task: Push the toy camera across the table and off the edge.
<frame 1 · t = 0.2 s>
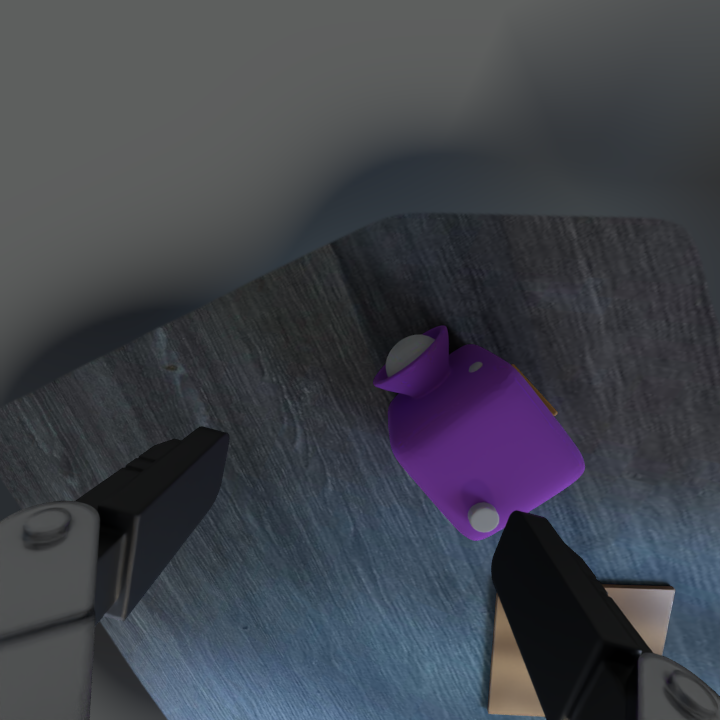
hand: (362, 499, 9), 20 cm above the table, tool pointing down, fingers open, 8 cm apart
toy camera: (444, 396, 30), on the table
square metal plate: (574, 651, 34), on the table
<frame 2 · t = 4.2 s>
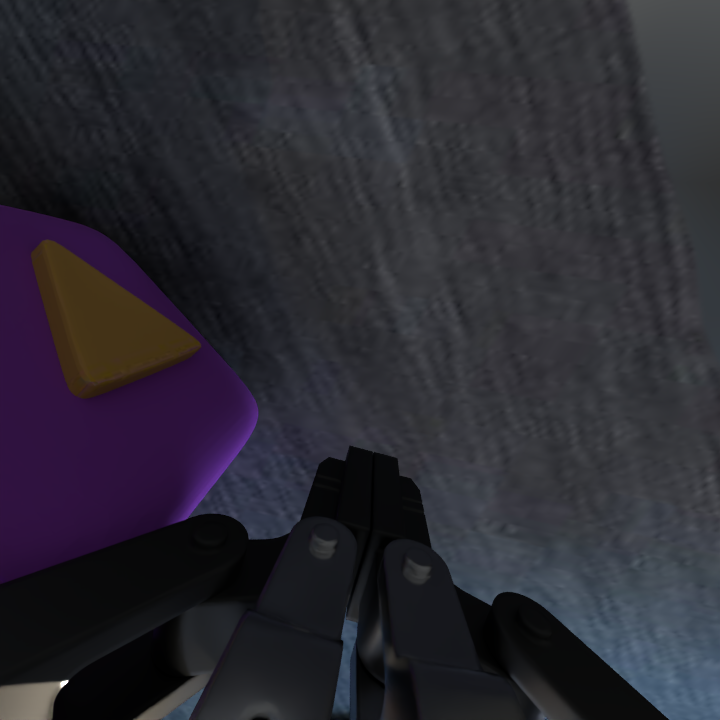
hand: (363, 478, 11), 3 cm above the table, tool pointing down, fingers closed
toy camera: (91, 359, 14), on the table, touching hand
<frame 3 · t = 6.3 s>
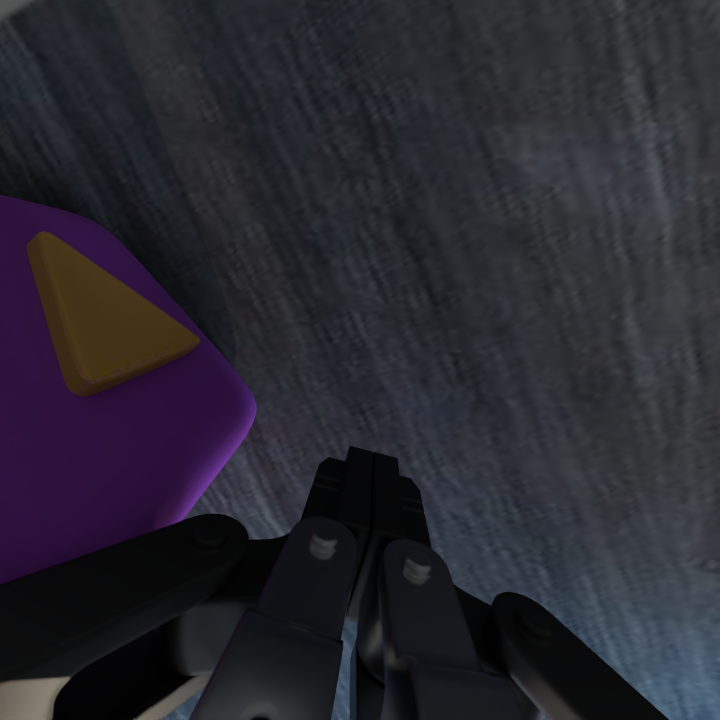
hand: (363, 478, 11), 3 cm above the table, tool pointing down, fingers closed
toy camera: (87, 351, 14), on the table, touching hand
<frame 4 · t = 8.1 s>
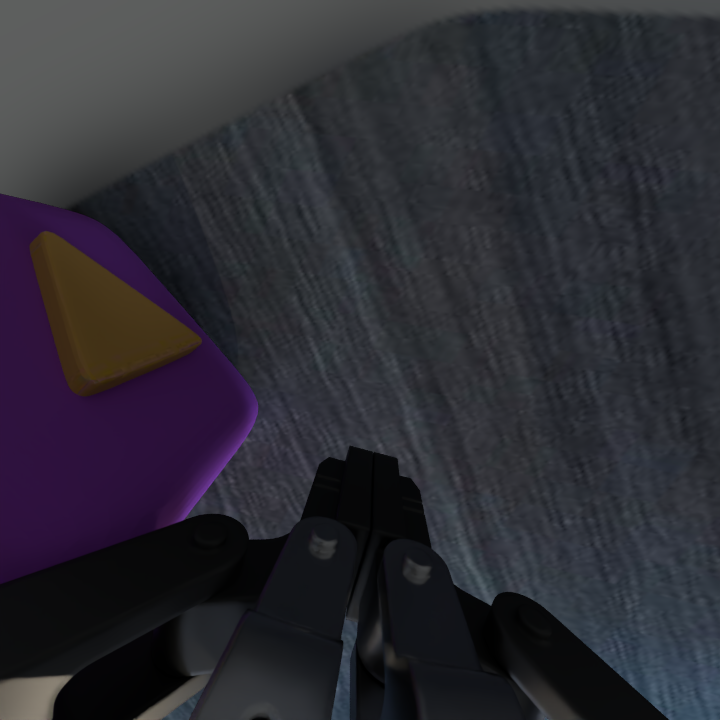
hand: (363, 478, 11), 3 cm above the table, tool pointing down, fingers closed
toy camera: (90, 350, 14), on the table, touching hand
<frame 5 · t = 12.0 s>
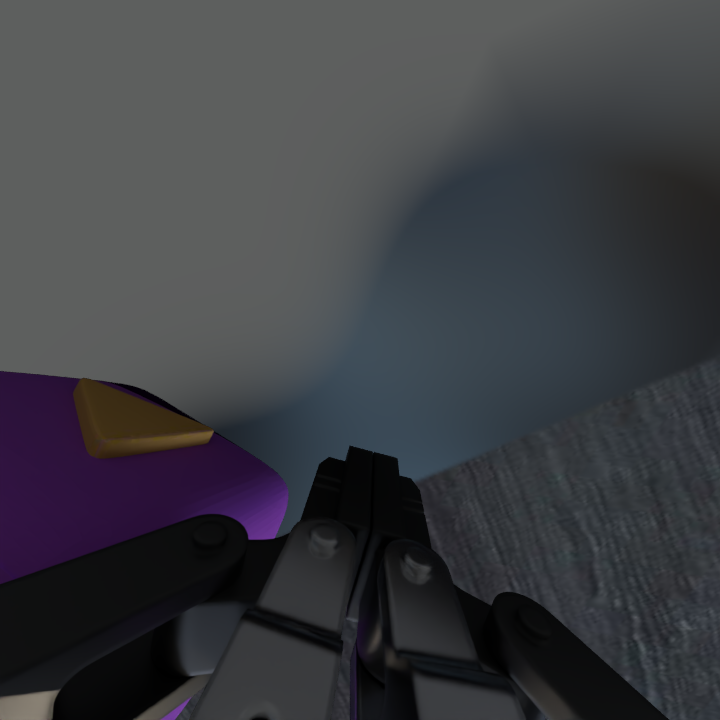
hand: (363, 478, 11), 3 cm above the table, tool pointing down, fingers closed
toy camera: (145, 504, 15), on the table, touching hand
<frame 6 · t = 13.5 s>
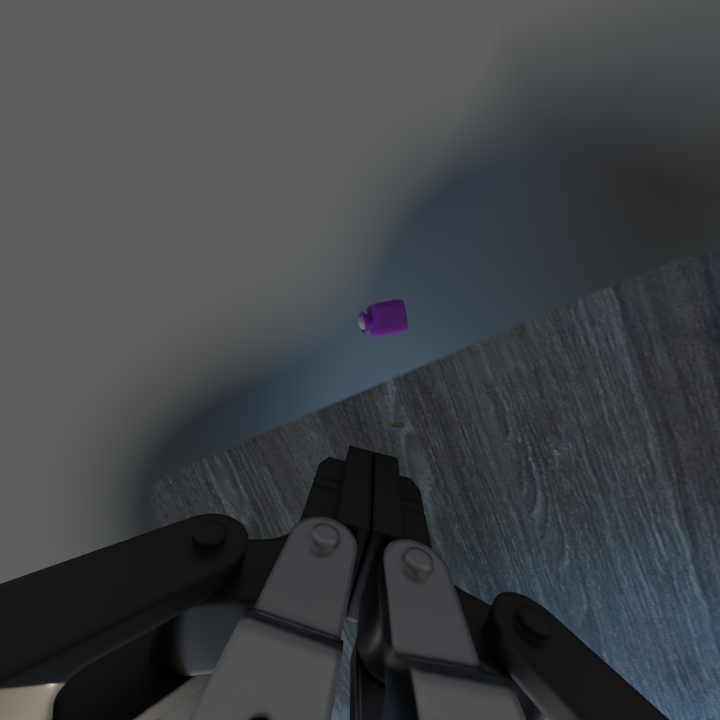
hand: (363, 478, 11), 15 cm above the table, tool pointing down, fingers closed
toy camera: (384, 336, 99), on the floor
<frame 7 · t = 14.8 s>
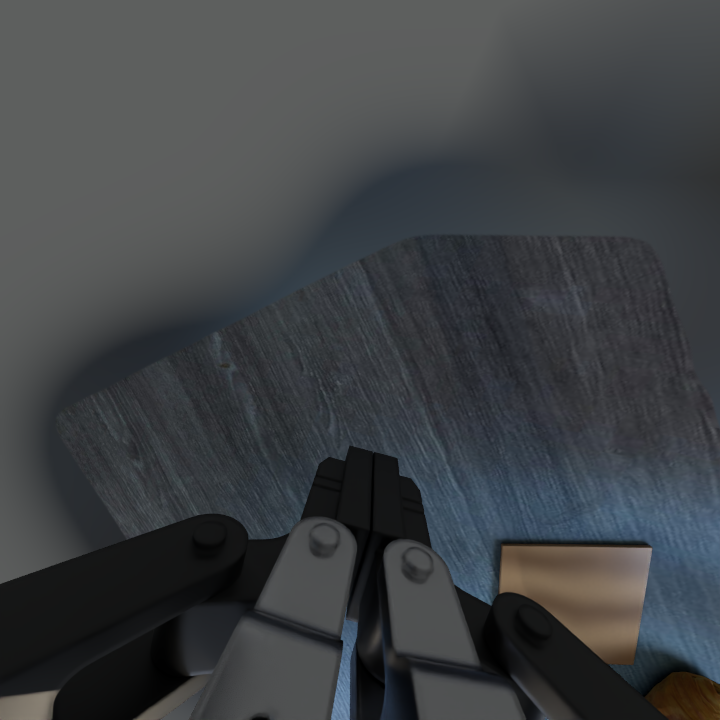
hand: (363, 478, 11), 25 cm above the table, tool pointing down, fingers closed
square metal plate: (568, 604, 40), on the table
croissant: (674, 715, 43), on the table
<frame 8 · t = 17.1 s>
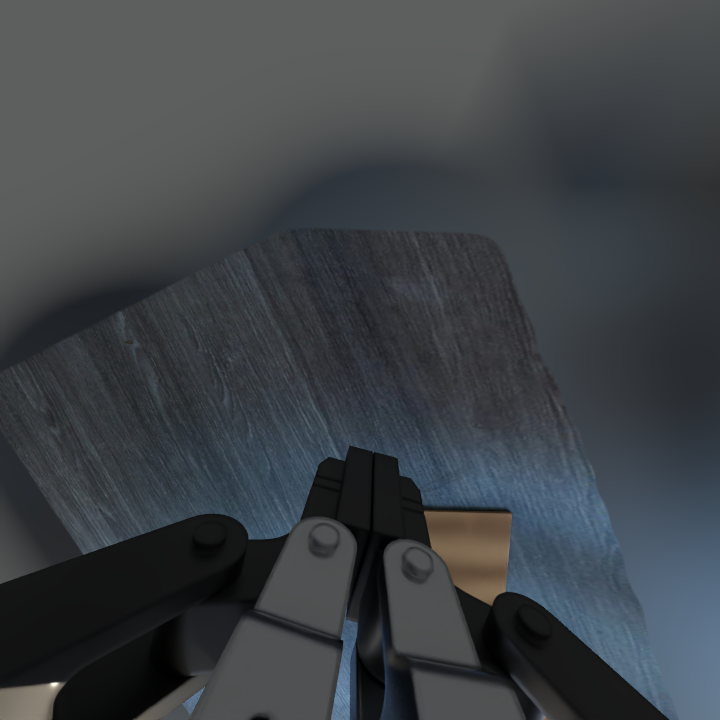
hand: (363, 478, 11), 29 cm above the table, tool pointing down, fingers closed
square metal plate: (442, 565, 44), on the table
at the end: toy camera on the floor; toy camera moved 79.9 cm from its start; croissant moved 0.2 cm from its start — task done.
